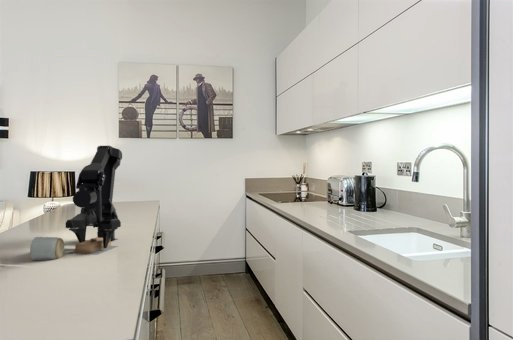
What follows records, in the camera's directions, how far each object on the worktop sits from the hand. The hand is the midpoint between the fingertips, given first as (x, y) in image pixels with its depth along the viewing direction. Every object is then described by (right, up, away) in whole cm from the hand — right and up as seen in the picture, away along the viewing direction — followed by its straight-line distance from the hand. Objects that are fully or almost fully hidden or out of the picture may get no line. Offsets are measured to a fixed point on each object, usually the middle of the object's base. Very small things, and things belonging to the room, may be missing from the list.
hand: (93, 247), depth 126 cm
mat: (0, -1, 0) cm, 1 cm away
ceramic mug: (-11, -2, -9) cm, 14 cm away
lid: (0, -1, 0) cm, 1 cm away
